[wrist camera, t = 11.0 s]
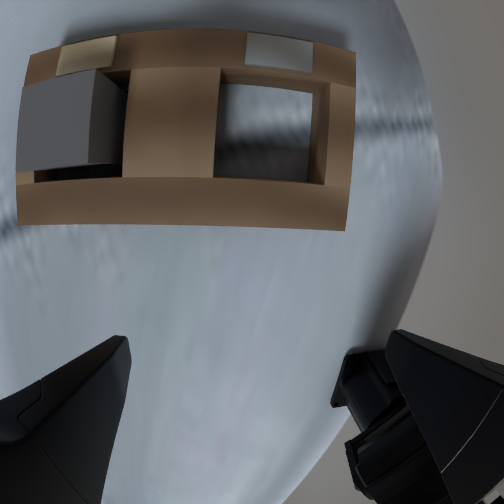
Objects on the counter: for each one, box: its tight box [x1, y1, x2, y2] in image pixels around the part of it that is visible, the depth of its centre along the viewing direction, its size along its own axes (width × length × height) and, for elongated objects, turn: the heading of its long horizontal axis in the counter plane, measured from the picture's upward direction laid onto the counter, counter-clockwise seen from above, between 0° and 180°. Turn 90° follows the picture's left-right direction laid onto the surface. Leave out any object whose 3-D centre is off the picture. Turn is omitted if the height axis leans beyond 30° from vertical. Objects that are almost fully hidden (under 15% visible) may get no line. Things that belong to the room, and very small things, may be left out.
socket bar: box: [16, 29, 356, 231], centre depth 14 cm, size 11×20×3 cm, turn 86°
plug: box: [16, 69, 128, 173], centre depth 12 cm, size 4×4×6 cm
